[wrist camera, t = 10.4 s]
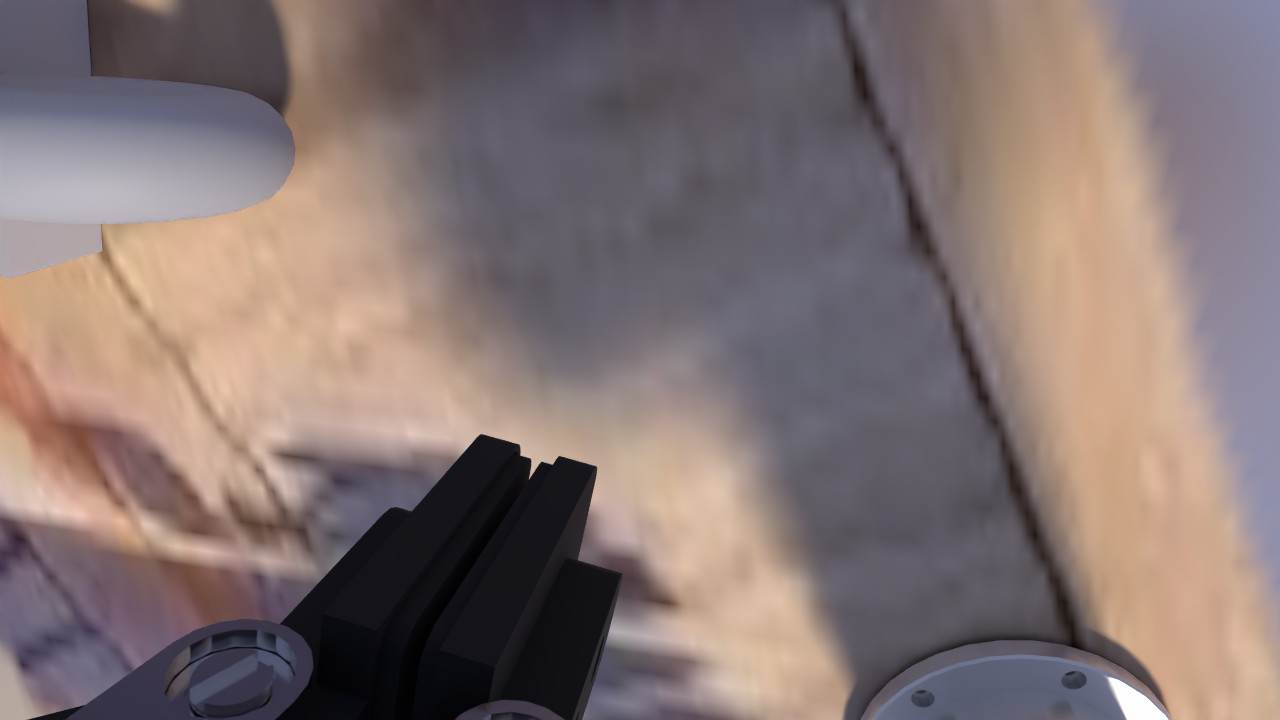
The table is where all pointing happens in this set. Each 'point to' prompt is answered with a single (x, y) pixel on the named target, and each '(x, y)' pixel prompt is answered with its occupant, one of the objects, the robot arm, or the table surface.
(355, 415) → the table surface
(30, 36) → the ledge cabinet
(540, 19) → the table surface
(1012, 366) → the table surface
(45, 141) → the donut
